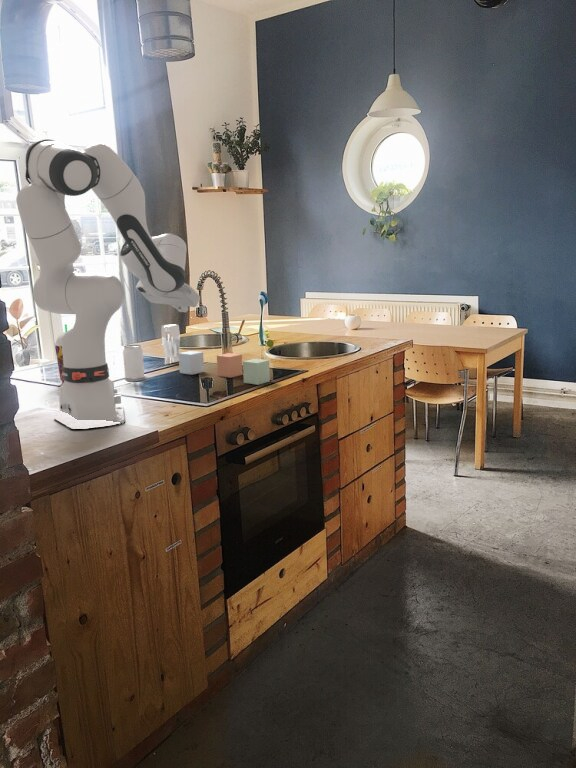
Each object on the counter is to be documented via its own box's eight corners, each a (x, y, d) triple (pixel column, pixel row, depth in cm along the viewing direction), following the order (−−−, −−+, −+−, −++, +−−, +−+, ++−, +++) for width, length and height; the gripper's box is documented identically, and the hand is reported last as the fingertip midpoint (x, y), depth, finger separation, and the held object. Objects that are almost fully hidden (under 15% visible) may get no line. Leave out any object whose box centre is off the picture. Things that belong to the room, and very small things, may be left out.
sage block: (257, 384, 210) (257, 363, 209) (243, 382, 214) (242, 361, 213) (269, 381, 215) (269, 360, 214) (255, 379, 219) (255, 358, 217)
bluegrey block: (191, 374, 229) (190, 354, 227) (179, 372, 232) (178, 353, 231) (204, 371, 233) (203, 352, 232) (192, 370, 237) (191, 350, 235)
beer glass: (173, 366, 252) (170, 326, 249) (159, 364, 256) (157, 326, 252) (185, 363, 258) (183, 324, 254) (171, 361, 261) (169, 323, 258)
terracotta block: (230, 377, 222) (229, 357, 221) (217, 375, 226) (216, 355, 224) (242, 374, 227) (241, 354, 225) (229, 372, 230) (228, 352, 229)
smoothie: (62, 386, 221) (56, 326, 217) (55, 382, 228) (49, 324, 223) (87, 383, 225) (81, 324, 221) (79, 379, 232) (74, 322, 228)
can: (139, 382, 224) (137, 347, 222) (122, 382, 225) (119, 347, 223) (147, 378, 230) (145, 344, 228) (130, 378, 232) (127, 344, 229)
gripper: (189, 275, 193) (213, 304, 203) (141, 272, 205) (166, 300, 215) (179, 291, 191) (203, 321, 201) (131, 288, 203) (157, 315, 213)
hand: (184, 310), depth 208 cm, fingers closed
